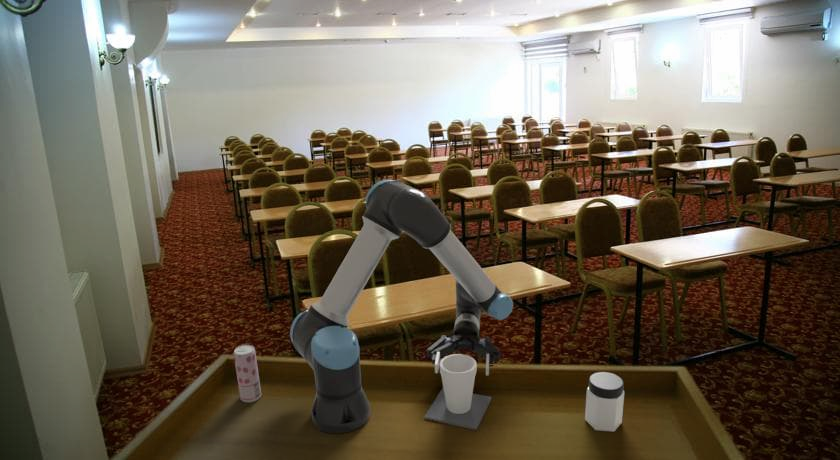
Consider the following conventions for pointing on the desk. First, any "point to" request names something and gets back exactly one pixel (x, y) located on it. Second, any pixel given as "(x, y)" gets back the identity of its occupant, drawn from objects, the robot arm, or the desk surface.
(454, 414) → the charcoal mat
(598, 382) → the jar
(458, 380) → the foam cup
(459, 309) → the robot arm
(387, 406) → the desk surface
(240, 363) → the beverage can
